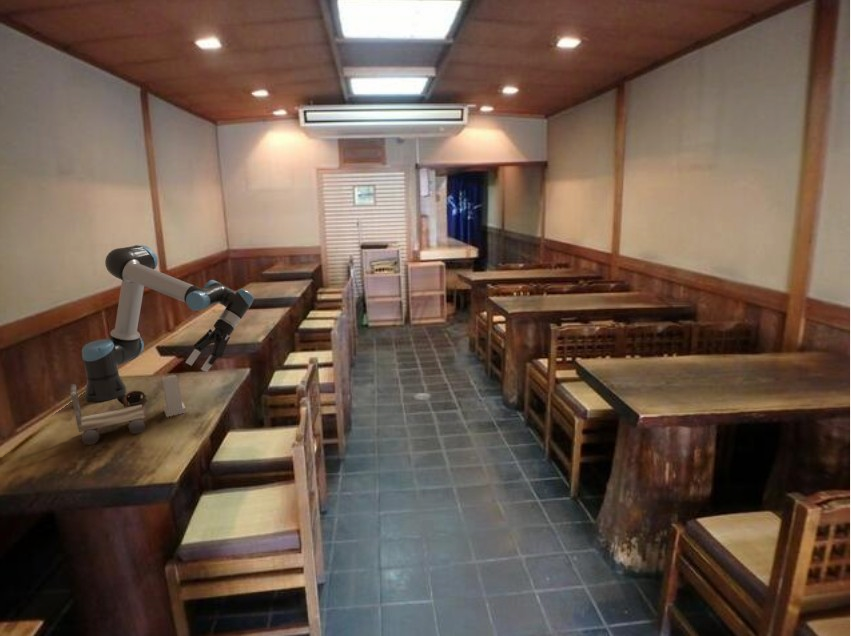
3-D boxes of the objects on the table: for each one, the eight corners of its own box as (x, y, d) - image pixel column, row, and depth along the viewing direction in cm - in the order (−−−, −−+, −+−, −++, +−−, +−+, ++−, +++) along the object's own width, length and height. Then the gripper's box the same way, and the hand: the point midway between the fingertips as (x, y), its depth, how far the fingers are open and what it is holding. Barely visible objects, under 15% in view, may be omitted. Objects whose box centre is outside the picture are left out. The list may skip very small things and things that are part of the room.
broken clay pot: (153, 403, 215) (151, 390, 210) (142, 421, 208) (140, 408, 203) (123, 397, 214) (120, 384, 209) (111, 415, 207) (108, 402, 202)
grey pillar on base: (164, 411, 206) (158, 377, 202) (183, 406, 209) (178, 373, 206) (166, 417, 200) (161, 382, 197) (186, 412, 204) (181, 378, 200)
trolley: (80, 433, 188) (70, 383, 183) (143, 419, 198) (135, 371, 194) (80, 447, 177) (69, 393, 173) (147, 431, 188) (138, 380, 183)
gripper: (249, 332, 210) (218, 378, 202) (219, 323, 226) (189, 365, 219) (235, 322, 205) (202, 369, 197) (205, 314, 221) (174, 356, 214)
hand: (195, 367), depth 208 cm, fingers open, 13 cm apart
